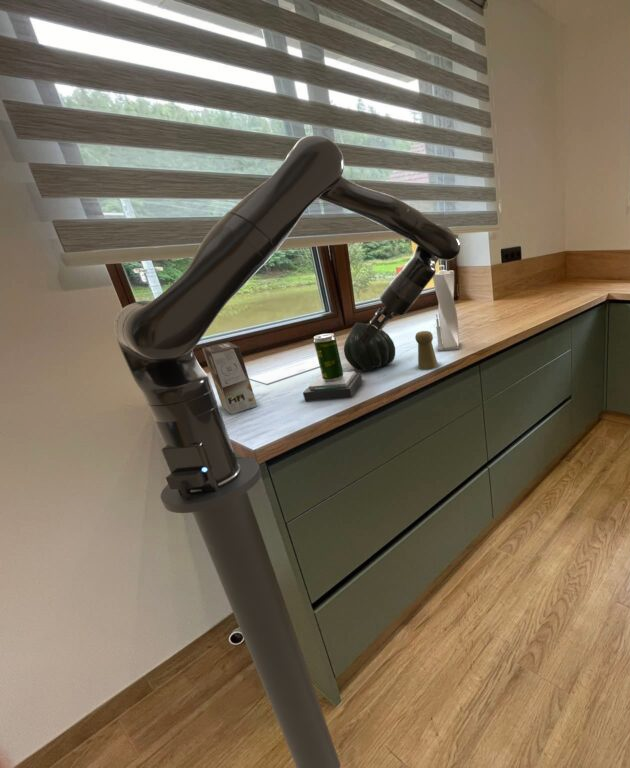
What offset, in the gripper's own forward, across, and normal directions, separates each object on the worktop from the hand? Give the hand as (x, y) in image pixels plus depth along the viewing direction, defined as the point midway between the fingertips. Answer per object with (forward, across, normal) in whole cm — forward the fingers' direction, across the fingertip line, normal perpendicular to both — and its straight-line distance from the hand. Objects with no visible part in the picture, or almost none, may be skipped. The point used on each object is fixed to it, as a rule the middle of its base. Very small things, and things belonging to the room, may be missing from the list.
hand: (365, 339), depth 112 cm
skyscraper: (-4, -35, +24) cm, 43 cm away
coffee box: (+34, +5, -14) cm, 37 cm away
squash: (+13, -19, +7) cm, 24 cm away
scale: (+17, 0, +2) cm, 17 cm away
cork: (0, -15, +19) cm, 25 cm away
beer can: (+15, -1, 0) cm, 15 cm away
